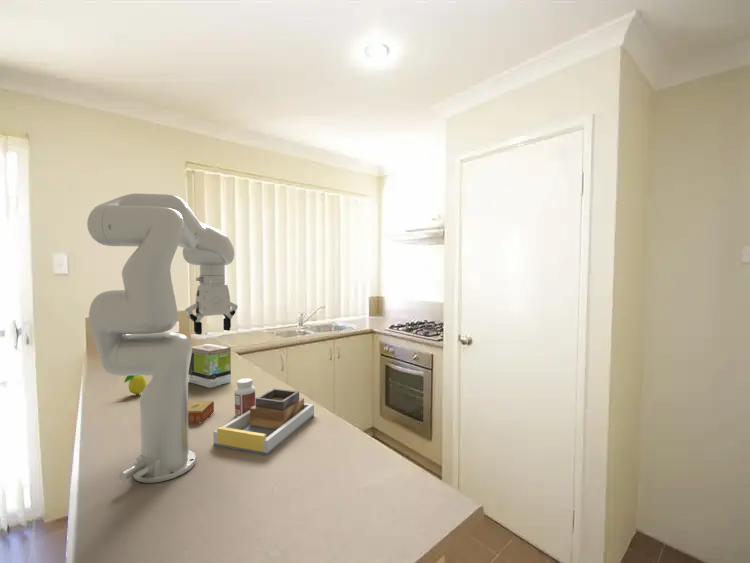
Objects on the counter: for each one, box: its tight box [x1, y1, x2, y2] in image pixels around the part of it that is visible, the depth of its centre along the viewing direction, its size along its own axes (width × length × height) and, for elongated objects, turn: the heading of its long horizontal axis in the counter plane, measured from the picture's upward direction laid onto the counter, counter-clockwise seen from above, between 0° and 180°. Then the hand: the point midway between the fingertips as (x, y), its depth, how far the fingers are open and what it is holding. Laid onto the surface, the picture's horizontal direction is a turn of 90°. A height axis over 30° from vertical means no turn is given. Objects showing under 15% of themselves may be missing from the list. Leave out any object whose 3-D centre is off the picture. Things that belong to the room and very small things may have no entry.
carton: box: [188, 400, 215, 424], centre depth 110 cm, size 8×16×4 cm, turn 93°
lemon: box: [123, 375, 150, 396], centre depth 130 cm, size 7×6×10 cm
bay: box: [213, 402, 315, 456], centre depth 102 cm, size 25×16×5 cm, turn 163°
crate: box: [250, 388, 305, 429], centre depth 107 cm, size 12×11×8 cm
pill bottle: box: [234, 377, 256, 418], centre depth 112 cm, size 6×6×11 cm
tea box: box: [188, 343, 232, 389], centre depth 144 cm, size 15×10×15 cm
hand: (213, 332), depth 117 cm, fingers open, 9 cm apart
